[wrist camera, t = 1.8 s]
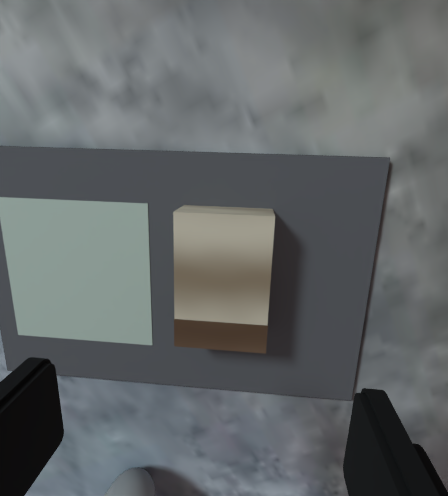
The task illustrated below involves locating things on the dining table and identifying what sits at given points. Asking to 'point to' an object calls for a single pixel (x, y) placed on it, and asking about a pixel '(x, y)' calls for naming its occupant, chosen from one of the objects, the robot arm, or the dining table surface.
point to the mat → (162, 263)
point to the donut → (132, 484)
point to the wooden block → (222, 277)
